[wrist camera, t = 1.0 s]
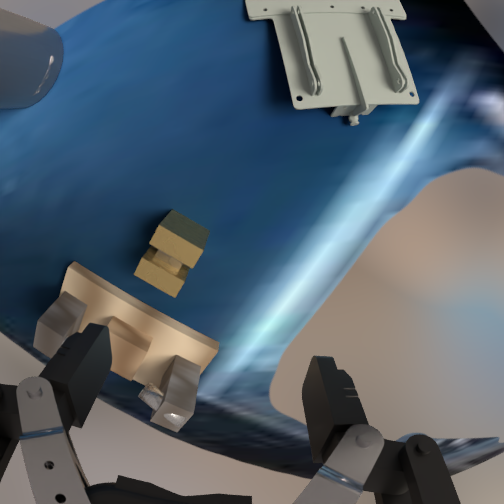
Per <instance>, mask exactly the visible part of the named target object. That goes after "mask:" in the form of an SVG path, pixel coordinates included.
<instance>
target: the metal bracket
mask: <svg viewBox="0 0 504 504" xmlns="http://www.w3.org/2000/svg"><path fill="white" fill-rule="evenodd" d="M245 3H246V7H247V12H248V16H249V19H250V20H261V19H272V20H273V22H274V26H275V30H276V34H277V37H278V41H279V45H280V50H281V54H282V58H283V62H284V66H285V71H286V75H287V79H288V84H289V88H290V93H291V97H292V102H293V106H294V108H295V109H297V110H301V109H311V108H322V107H335V109H334V110H333V112H332V113H331V117H335V116H339V115H341V116H349V121H350V122H351V123H350V125H352V126H354V125H358V124H359V122H358V115H360V114H362V115H368V114H369V113H370V112H371V111H372V110H373V109H374V108H375V107H376V106H377V105H380V104H418V103H419V98H418V94H417V91H416V88H415V85H414V82H413V78H412V75H411V72H410V69H409V66H408V64H407V61H406V58H405V55H404V52H403V50H402V47H401V44H400V42H399V39H398V37H397V34H396V32H395V29H394V27H393V24H392V22H391V19H399V20H405V19H406V13H405V11H404V9H403V7H402V5H401V3H400V1H399V0H245ZM330 6H332V7H334V8H331V7H330ZM361 7H363V8H364V9H362V8H361ZM264 9H266V10H267V11H263V10H264ZM390 10H392V11H390ZM409 92H412V93H413V94H414V97H411V96H410V94H409ZM297 96H301V97H302V98H303V100H302V101H298V100H297V99H296V97H297Z"/></svg>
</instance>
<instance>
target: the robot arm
mask: <svg viewBox="0 0 504 504" xmlns="http://www.w3.org/2000/svg"><path fill="white" fill-rule="evenodd" d="M62 61H63V43H62V40H61V37H60V36H59V34H58V33H57V32H56V31H55V30H54V29H52V28H50V27H48V26H45V25H43V24H40V23H38V22H35V21H33V20H31V19H28V18H26V17H23V16H20V15H18V14H15V13H12V12H9V11H6V10H4V9H1V8H0V109H1V108H26V107H29V106H32V105H34V104H35V103H37V102H38V101H40V100H41V99H42V98H43V97H44V96H45V95H46V94H47V92H48V91H49V90H50V89H51V87H52V86H53V84H54V82H55V81H56V79H57V76H58V74H59V72H60V69H61V65H62ZM111 365H112V350H111V342H110V333H109V328H108V326H104V325H100V324H95V323H89V324H88V325H87V326H86V328H85V329H84V330H83V332H82V333H80V332H76V333H74V334H72V335H71V336H69V337H68V338H67V339H66V340H65V341H64V342H63V344H62V345H61V348H59V349H58V350H57V352H56V354H54V356H53V357H52V358H51V360H50V361H49V362H48V364H47V365H46V367H45V368H44V370H43V371H42V372H41V374H40V375H39V376H38V377H29V378H26V379H24V380H23V381H22V382H20V383H19V385H18V386H15V385H5V384H0V482H1V479H2V477H3V475H4V472H5V470H6V468H7V466H8V463H9V461H10V459H11V457H12V455H13V452H14V450H15V448H16V446H17V444H18V442H19V440H20V444H21V449H22V453H23V457H24V462H25V466H26V470H27V474H28V478H29V481H30V485H31V488H32V492H33V495H34V498H35V501H36V504H252V496H241V495H227V494H209V495H196V496H181V495H178V494H175V493H172V492H170V491H168V490H165V489H163V488H160V487H158V486H156V485H154V484H152V483H149V482H144V481H140V480H136V479H132V478H127V477H124V476H120V475H118V478H117V481H116V483H113V482H112V483H101V484H96V485H92V486H90V485H89V483H88V480H87V478H86V476H85V474H84V472H83V469H82V467H81V464H80V462H79V459H78V457H77V454H76V451H75V448H74V446H73V443H72V440H71V437H70V435H69V430H70V428H71V426H75V427H79V428H82V426H83V424H84V422H85V420H86V418H87V416H88V414H89V412H90V410H91V408H92V405H93V404H94V401H95V399H96V397H97V395H98V393H99V391H100V389H101V387H102V385H103V383H104V381H105V379H106V377H107V376H108V374H109V372H110V369H111ZM302 400H303V406H304V412H305V417H306V423H307V428H308V434H309V440H310V446H311V451H312V457H313V463H323V464H324V465H323V467H322V468H320V470H319V471H318V472H317V473H316V475H315V476H314V477H313V479H312V480H311V481H310V483H309V484H308V485H307V486H306V488H305V489H304V490H303V492H302V493H301V494H300V495H299V497H298V498H297V499H296V500H295V501H294V503H293V504H356V502H357V500H358V499H359V497H360V495H361V494H362V492H363V491H369V492H374V495H375V500H376V504H460V501H459V498H458V495H457V493H456V490H455V487H454V485H453V482H452V479H451V477H450V474H449V471H448V469H447V466H446V464H445V461H444V459H443V456H442V454H441V452H440V449H439V447H438V445H437V443H436V442H435V441H434V440H433V439H432V438H430V437H428V436H425V435H414V436H411V437H410V438H409V439H408V440H407V441H406V443H403V442H397V441H391V440H386V439H384V438H383V436H382V434H381V433H380V432H379V431H378V430H377V429H376V428H374V427H372V426H370V425H369V424H368V421H367V418H366V416H365V413H364V410H363V407H362V404H361V402H360V399H359V398H358V394H357V391H356V390H355V386H354V383H353V380H352V378H351V377H350V376H349V375H348V374H347V373H346V372H345V371H344V370H337V367H336V364H335V361H334V358H333V357H327V356H313V358H312V360H311V362H310V365H309V368H308V372H307V375H306V378H305V380H304V383H303V388H302Z"/></svg>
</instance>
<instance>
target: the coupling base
mask: <svg viewBox="0 0 504 504" xmlns="http://www.w3.org/2000/svg"><path fill="white" fill-rule="evenodd" d="M89 323H95V324H100V325H104V326H108V328H109V333H110V342H111V350H112V365H111V369H110V370H111V371H113V372H115V373H117V374H119V375H121V376H122V377H124V378H126V379H128V380H130V381H132V379H133V380H135V381H137V382H139V383H141V384H143V385H145V386H146V385H147V384H148V383H150V382H151V383H152V384H153V385H155V386H156V387H157V388H158V389H159V390H161V391H162V392H163V393H164V395H163V399H162V402H161V404H160V406H159V408H158V409H157V410H156V411H155V410H154V409H153V412H152V415H151V419H150V421H152V422H154V423H156V424H158V425H161V426H163V427H165V428H168V429H170V430H173V431H175V432H178V431H179V430H180V428H181V427H182V426H183V425H184V424H185V423H186V422H187V421H188V419H189V418H190V417H191V416H192V415H193V414H194V408H195V402H196V395H197V389H198V382H199V376H200V374H201V373H202V372H203V370H204V369H205V368H206V366H207V365H208V364H209V362H210V361H211V360H212V359H213V357H214V356H215V355H216V353H217V352H218V348H219V342H217V341H215V340H213V339H211V338H209V337H207V336H205V335H203V334H201V333H199V332H197V331H195V330H193V329H191V328H189V327H187V326H185V325H184V324H182V323H180V322H178V321H176V320H174V319H172V318H170V317H168V316H167V315H165V314H163V313H161V312H159V311H157V310H156V309H154V308H152V307H150V306H148V305H147V304H145V303H143V302H141V301H140V300H138V299H136V298H134V297H133V296H131V295H129V294H127V293H126V292H124V291H122V290H121V289H119V288H117V287H116V286H114V285H112V284H111V283H109V282H107V281H106V280H104V279H102V278H101V277H99V276H97V275H96V274H94V273H93V272H91V271H89V270H88V269H86V268H85V267H83V266H81V265H80V264H78V263H77V262H75V261H74V262H73V263H72V264H71V265H70V266H68V269H67V272H66V275H65V278H64V282H63V285H62V288H61V292H60V295H59V298H58V299H57V300H56V301H55V302H54V303H53V304H52V305H51V306H50V307H49V308H48V310H47V311H46V312H45V313H44V314H43V315H42V316H41V317H40V318H39V319H38V322H37V327H36V333H35V338H34V344H33V347H35V348H36V349H38V350H39V351H40V352H42V353H43V354H45V355H46V356H48V357H49V358H52V357H53V356H54V354H56V352H57V350H58V349H59V348H61V345H62V343H63V341H64V340H65V338H66V337H67V336H71V335H72V334H74V333H76V332H80V333H82V332H83V330H84V329H85V328H86V326H87V325H88V324H89ZM164 414H174V415H179V416H182V417H185V418H187V419H186V420H185V421H184V423H183V424H182V425H181V426H180V427H179V428H177V427H176V426H175V425H173V424H172V423H171V422H169V421H168V420H167V419H166V418H165V417H164Z"/></svg>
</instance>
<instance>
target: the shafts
mask: <svg viewBox="0 0 504 504" xmlns="http://www.w3.org/2000/svg"><path fill="white" fill-rule="evenodd" d="M68 337H69V336H67V337H66V338H65V340H66V339H67V338H68ZM65 340H64V341H65ZM64 341H63V342H64ZM62 344H63V343H62ZM163 395H164V393H163V392H162V391H161V390H159V389H158V388H157V387H156V386H155V385H153V384H152V383H151V382H150V383H148V384H147V385H146V386H145V388H144V389H143V390H142V391H141V392H140V394H139V396H138V397H140V398H141V399H142V400H143V401H144V402H146V403H147V404H148V405H149V406H150V407H152V408H153V409H154V410H155V411H156V410H157V409H158V408H159V406H160V404H161V402H162V399H163ZM164 417H165V418H166V419H167V420H168V421H169V422H171V423H172V424H173V425H175V426H176V427H177V428H179V427H180V426H181V425H182V424H183V423H184V421H185V420H186V419H187V418H185V417H182V416H179V415H174V414H164Z"/></svg>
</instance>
